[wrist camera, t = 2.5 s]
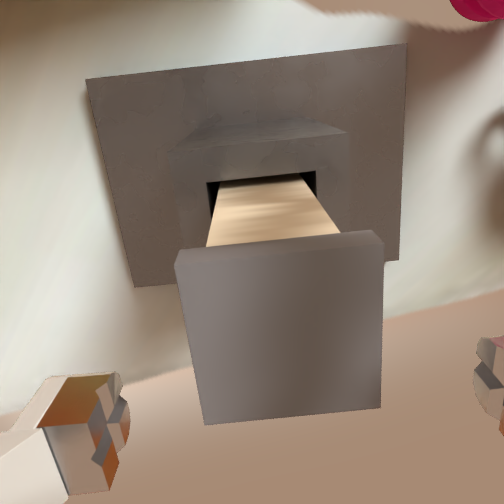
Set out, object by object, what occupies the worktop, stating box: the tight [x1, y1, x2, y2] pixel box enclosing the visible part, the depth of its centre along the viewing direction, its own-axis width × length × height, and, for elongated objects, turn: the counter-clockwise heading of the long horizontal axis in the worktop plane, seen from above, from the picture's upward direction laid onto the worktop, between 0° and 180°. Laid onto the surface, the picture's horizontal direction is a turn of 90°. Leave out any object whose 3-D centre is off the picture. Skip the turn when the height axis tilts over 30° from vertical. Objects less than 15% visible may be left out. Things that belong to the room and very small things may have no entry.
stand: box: [85, 43, 407, 287], centre depth 25 cm, size 22×16×14 cm
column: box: [174, 173, 384, 425], centre depth 20 cm, size 5×5×21 cm
